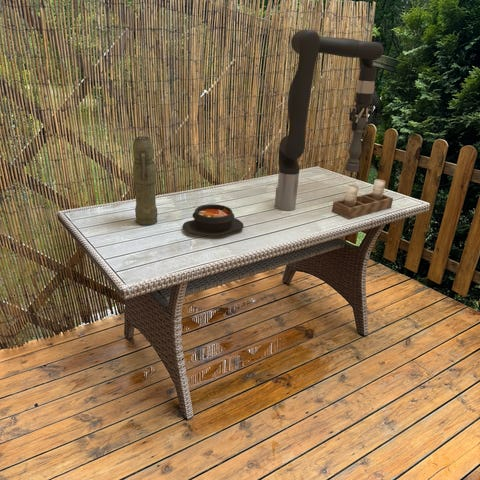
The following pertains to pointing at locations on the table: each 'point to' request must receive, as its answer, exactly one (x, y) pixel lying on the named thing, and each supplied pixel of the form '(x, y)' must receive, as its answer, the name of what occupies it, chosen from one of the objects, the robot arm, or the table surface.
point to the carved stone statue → (144, 181)
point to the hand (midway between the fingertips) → (358, 130)
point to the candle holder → (355, 146)
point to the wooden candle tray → (362, 201)
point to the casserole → (213, 221)
